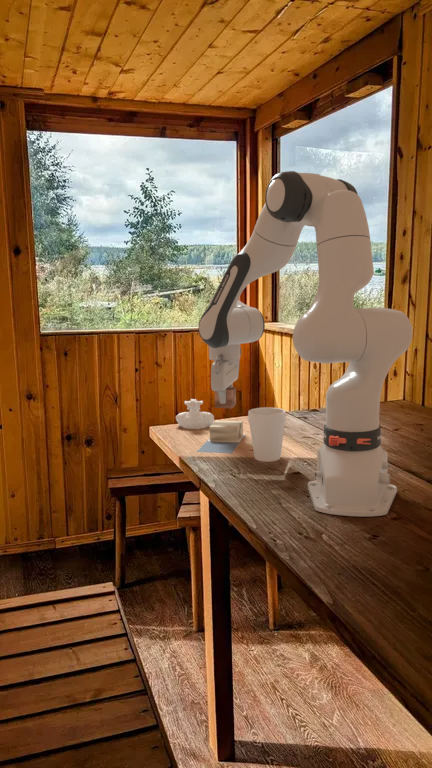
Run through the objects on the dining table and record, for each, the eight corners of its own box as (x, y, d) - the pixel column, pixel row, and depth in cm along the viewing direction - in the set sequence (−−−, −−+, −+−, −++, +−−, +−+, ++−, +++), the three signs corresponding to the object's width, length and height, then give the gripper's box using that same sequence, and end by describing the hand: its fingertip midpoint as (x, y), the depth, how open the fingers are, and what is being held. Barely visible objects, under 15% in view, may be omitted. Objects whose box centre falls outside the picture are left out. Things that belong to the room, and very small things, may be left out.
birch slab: (237, 441, 168) (237, 427, 167) (209, 440, 170) (209, 426, 169) (243, 434, 176) (242, 421, 175) (216, 433, 177) (216, 420, 177)
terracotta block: (232, 408, 168) (232, 390, 167) (215, 407, 169) (214, 390, 169) (235, 404, 173) (235, 387, 172) (219, 404, 174) (218, 387, 173)
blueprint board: (232, 457, 157) (232, 453, 157) (196, 455, 159) (196, 451, 159) (246, 437, 176) (246, 433, 176) (214, 436, 178) (214, 432, 178)
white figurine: (176, 437, 187) (171, 414, 179) (178, 418, 192) (174, 395, 184) (214, 437, 186) (211, 414, 178) (215, 418, 191) (213, 394, 183)
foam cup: (259, 454, 159) (258, 406, 156) (292, 458, 154) (291, 409, 152) (242, 464, 151) (241, 413, 148) (276, 469, 146) (275, 416, 144)
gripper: (227, 357, 158) (228, 409, 160) (242, 348, 177) (243, 394, 180) (204, 357, 159) (206, 408, 162) (221, 348, 179) (222, 393, 181)
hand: (225, 400), depth 171 cm, fingers closed on terracotta block, 5 cm apart
